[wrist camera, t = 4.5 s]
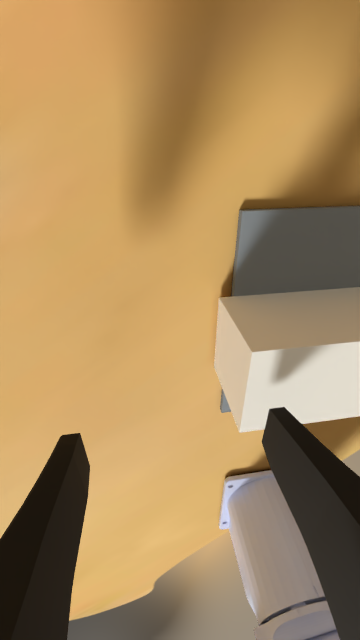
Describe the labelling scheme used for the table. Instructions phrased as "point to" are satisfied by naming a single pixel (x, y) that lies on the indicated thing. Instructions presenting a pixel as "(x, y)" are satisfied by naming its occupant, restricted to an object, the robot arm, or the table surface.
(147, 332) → the table surface
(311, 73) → the table surface
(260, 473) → the robot arm
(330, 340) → the tall block
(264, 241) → the slate mat
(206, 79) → the table surface
